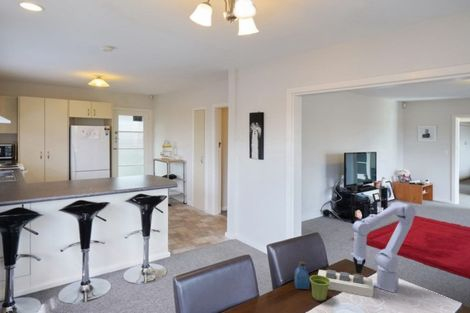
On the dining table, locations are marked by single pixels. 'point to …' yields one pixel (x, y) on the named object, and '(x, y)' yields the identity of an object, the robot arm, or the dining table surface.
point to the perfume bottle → (301, 276)
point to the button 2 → (358, 279)
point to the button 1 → (331, 274)
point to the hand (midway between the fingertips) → (358, 272)
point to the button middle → (344, 276)
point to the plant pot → (319, 286)
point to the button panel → (350, 285)
